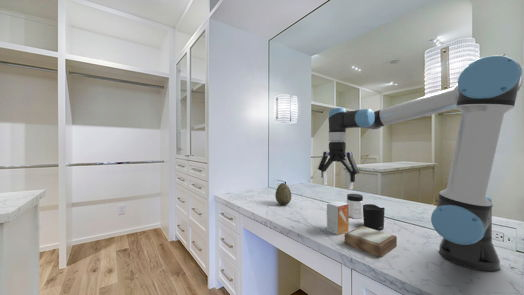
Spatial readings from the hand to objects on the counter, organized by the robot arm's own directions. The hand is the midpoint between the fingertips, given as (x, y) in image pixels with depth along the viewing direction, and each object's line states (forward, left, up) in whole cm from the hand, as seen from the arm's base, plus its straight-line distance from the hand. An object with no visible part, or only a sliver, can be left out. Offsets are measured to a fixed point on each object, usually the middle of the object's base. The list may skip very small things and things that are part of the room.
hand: (337, 186), depth 99 cm
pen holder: (-8, -18, -21) cm, 29 cm away
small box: (0, 0, -21) cm, 21 cm away
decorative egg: (+48, -10, -21) cm, 53 cm away
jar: (+6, -26, -21) cm, 34 cm away
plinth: (-16, +2, -21) cm, 26 cm away
